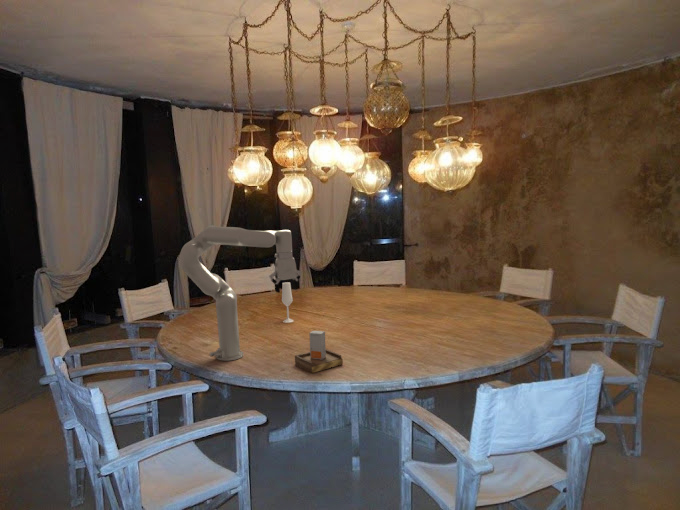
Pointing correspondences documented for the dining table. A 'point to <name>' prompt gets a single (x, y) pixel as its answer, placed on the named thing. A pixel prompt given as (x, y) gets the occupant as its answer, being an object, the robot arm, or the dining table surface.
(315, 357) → the skincare box
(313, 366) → the wooden tray
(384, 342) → the dining table surface
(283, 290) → the champagne flute
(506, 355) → the dining table surface
